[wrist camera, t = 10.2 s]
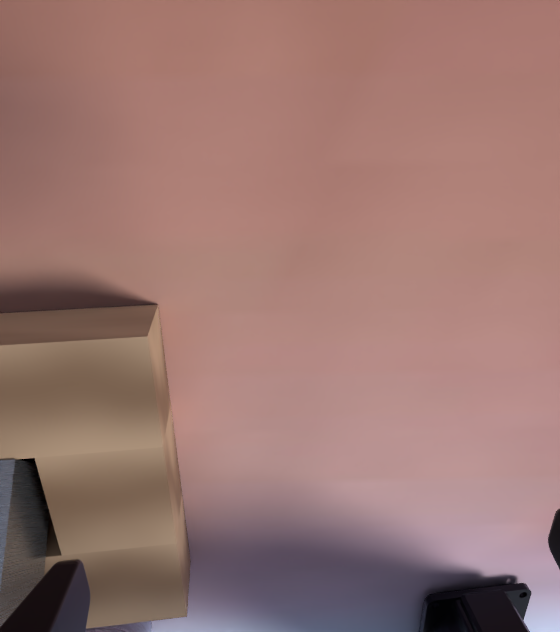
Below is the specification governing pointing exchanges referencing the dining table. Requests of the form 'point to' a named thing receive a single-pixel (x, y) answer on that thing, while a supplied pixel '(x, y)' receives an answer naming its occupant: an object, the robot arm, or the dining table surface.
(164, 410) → the bore block
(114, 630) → the clear glass jar
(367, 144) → the dining table surface
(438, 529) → the dining table surface
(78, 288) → the dining table surface
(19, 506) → the square bit
